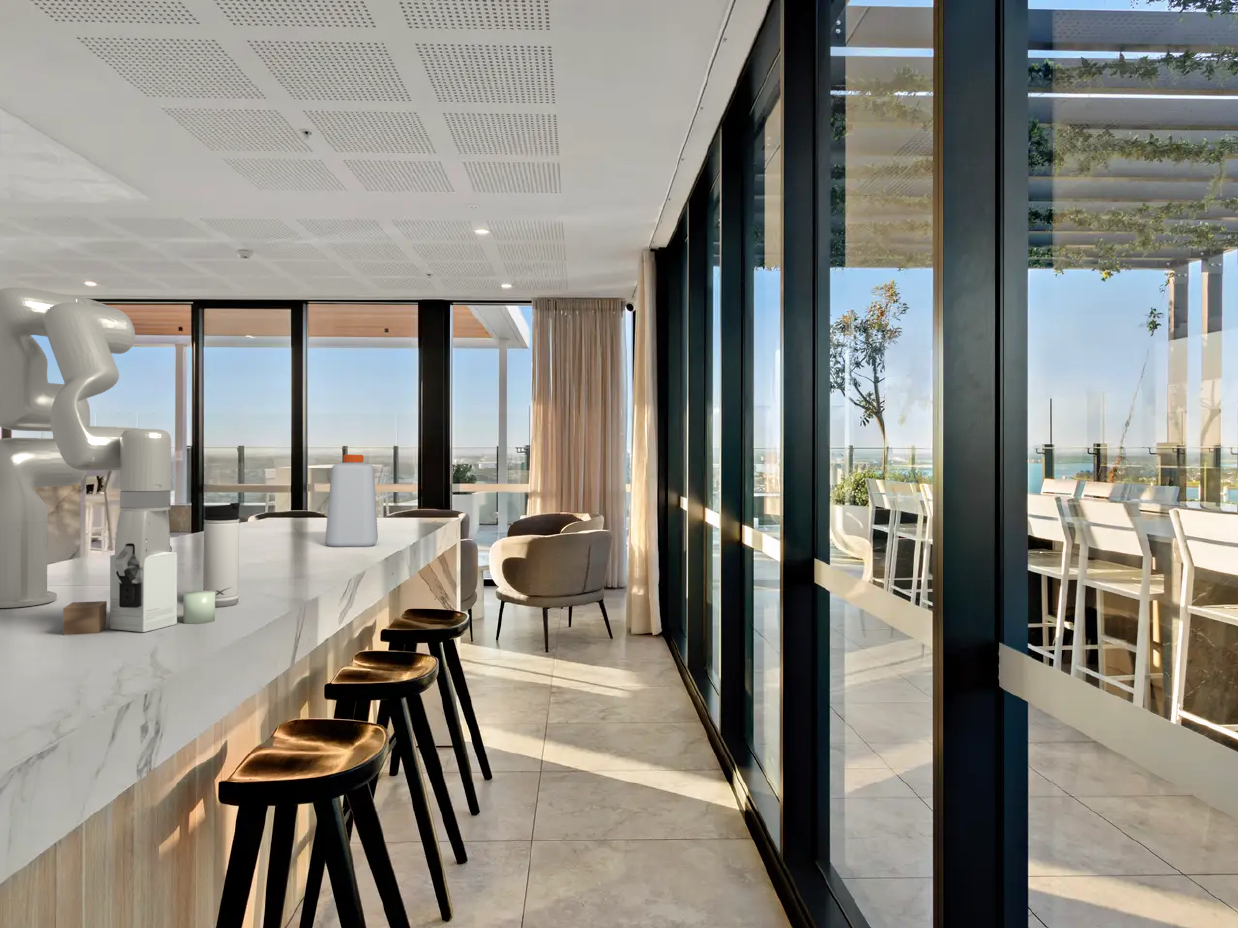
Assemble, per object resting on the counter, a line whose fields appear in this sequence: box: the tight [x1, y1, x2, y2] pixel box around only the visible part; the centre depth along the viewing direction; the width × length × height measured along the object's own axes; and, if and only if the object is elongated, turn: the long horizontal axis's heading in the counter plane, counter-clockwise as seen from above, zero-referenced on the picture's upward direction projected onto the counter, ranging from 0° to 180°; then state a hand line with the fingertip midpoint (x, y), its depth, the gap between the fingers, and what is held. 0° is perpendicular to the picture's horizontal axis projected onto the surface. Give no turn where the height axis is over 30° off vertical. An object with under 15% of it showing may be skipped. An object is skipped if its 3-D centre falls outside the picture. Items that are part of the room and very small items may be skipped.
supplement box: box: [109, 551, 178, 633], centre depth 141 cm, size 7×7×13 cm
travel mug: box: [202, 502, 241, 608], centre depth 161 cm, size 6×7×20 cm
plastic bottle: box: [325, 454, 379, 548], centre depth 257 cm, size 15×15×28 cm
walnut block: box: [62, 600, 108, 636], centre depth 137 cm, size 5×5×4 cm
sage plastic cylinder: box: [182, 590, 216, 625], centre depth 146 cm, size 5×5×5 cm
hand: (144, 601), depth 141 cm, fingers closed on supplement box, 9 cm apart
